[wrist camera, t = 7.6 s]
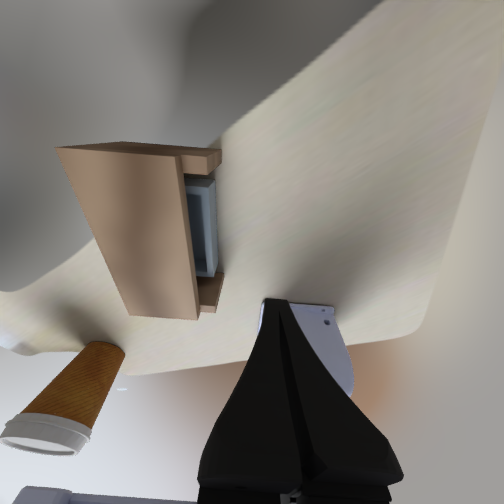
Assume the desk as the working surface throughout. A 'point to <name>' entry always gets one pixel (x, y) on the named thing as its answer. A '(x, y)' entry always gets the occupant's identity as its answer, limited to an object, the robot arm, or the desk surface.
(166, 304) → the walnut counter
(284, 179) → the desk surface
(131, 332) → the desk surface
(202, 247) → the grey tray
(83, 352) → the disposable coffee cup
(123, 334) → the desk surface
